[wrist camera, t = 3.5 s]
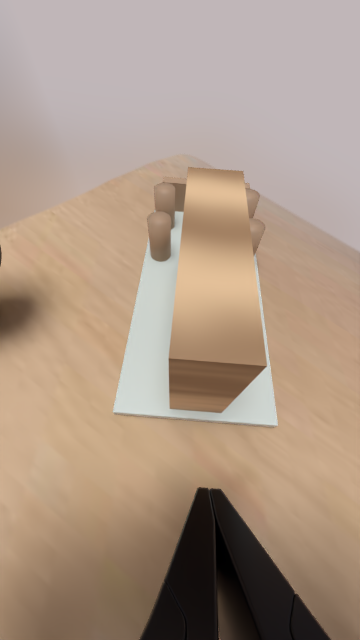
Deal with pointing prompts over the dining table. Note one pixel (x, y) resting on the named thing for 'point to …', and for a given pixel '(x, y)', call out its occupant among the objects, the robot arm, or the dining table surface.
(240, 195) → the brown wooden block
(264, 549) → the robot arm
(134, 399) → the panel
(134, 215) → the dining table surface
